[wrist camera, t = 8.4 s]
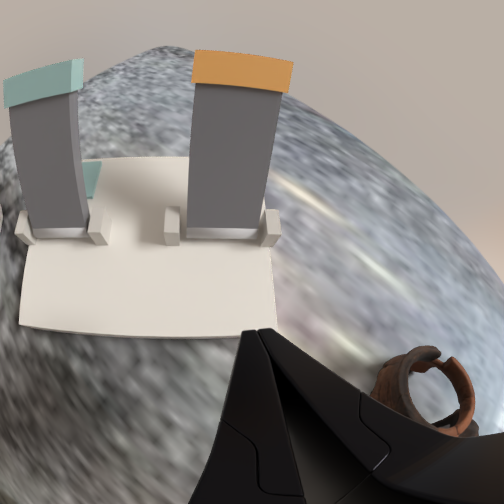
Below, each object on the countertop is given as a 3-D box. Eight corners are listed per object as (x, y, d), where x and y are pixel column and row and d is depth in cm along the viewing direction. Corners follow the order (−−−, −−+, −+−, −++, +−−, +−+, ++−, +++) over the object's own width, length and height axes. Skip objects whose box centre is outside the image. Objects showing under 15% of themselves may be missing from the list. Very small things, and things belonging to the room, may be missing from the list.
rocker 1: (90, 242, 14) (71, 59, 7) (33, 242, 13) (3, 80, 6) (96, 228, 15) (83, 58, 8) (41, 229, 14) (17, 75, 7)
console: (271, 335, 17) (292, 329, 13) (31, 328, 13) (1, 319, 10) (256, 177, 21) (268, 144, 18) (59, 177, 17) (44, 147, 14)
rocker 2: (259, 244, 16) (293, 62, 10) (182, 243, 15) (195, 49, 9) (255, 231, 17) (284, 62, 11) (183, 229, 16) (196, 52, 10)
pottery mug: (312, 470, 14) (376, 442, 9) (344, 374, 21) (393, 314, 17) (431, 491, 11) (507, 459, 6) (441, 407, 19) (498, 359, 14)
